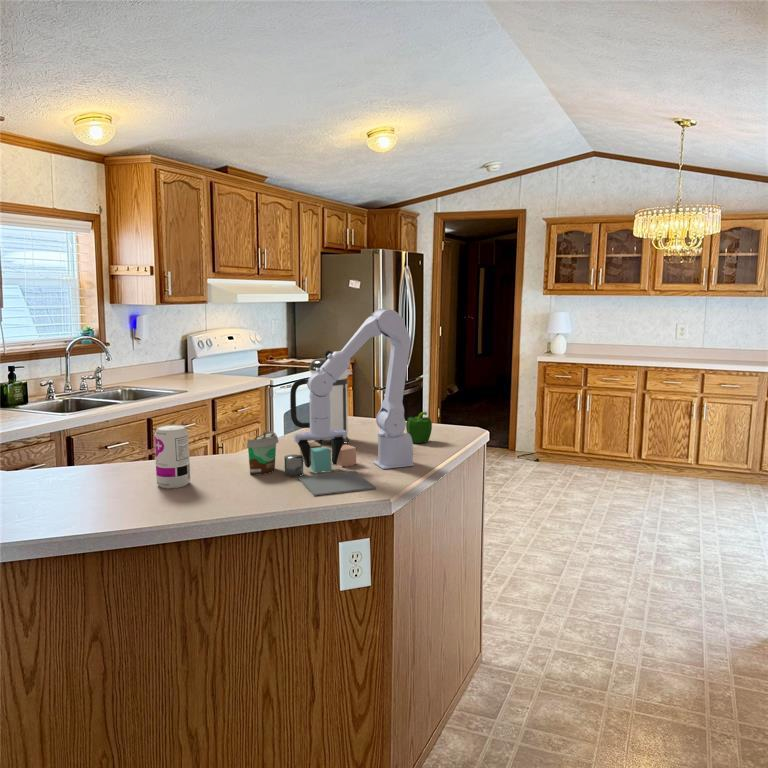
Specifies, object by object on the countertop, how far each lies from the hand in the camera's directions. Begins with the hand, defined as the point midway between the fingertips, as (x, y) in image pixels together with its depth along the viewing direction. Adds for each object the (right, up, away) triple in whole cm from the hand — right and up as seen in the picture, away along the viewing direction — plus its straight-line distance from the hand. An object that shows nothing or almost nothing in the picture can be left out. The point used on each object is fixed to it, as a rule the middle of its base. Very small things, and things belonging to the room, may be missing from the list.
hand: (321, 465), depth 185 cm
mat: (+5, -3, -13) cm, 14 cm away
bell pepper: (+29, +3, +33) cm, 44 cm away
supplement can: (-37, -4, -13) cm, 39 cm away
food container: (-15, -2, 0) cm, 15 cm away
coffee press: (-2, +3, +35) cm, 35 cm away
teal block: (0, -1, 0) cm, 2 cm away
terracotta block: (+6, -1, +7) cm, 9 cm away
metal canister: (-7, -2, -4) cm, 8 cm away
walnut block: (-4, 0, +10) cm, 11 cm away
